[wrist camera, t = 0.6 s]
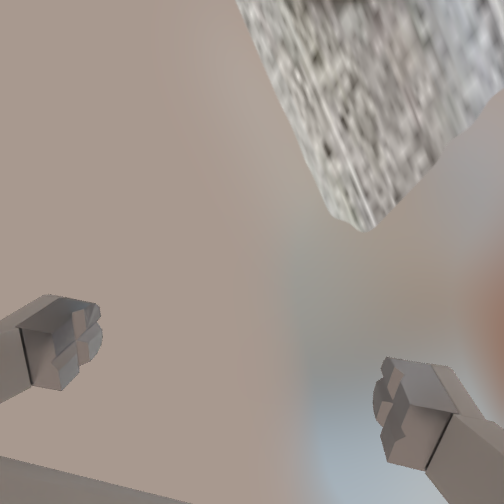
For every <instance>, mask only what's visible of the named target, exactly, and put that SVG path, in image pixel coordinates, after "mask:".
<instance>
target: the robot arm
mask: <svg viewBox="0 0 504 504" xmlns="http://www.w3.org/2000/svg"><path fill="white" fill-rule="evenodd" d="M100 317H101V314H100V307H99V306H98V305H97V304H96V303H91V302H86V301H82V300H77V299H71V298H67V297H62V296H56V295H51V294H50V295H49V294H48V295H42V296H41V297H39V298H37V299H36V300H34V301H32V302H31V303H29V304H27V305H25V306H24V307H22V308H21V309H19V310H17V311H15V312H14V313H12V314H10V315H9V316H7V317H5V318H4V319H2V320H0V403H2V402H4V401H6V400H8V399H10V398H12V397H14V396H16V395H18V394H19V393H21V392H23V391H25V390H27V389H29V388H30V387H31V386H37V387H42V388H48V389H53V390H58V391H62V390H63V389H64V388H65V387H66V386H67V385H68V384H69V383H70V382H71V381H72V380H73V379H74V378H75V377H76V376H77V375H78V373H79V366H81V365H83V364H85V363H87V362H90V361H91V360H92V359H93V358H94V356H95V355H96V354H97V352H98V350H99V348H100V346H101V343H102V338H103V335H102V329H101V328H100V326H99V324H98V323H97V321H98V320H99V318H100ZM381 371H382V374H383V378H381V379H380V380H378V381H377V382H376V386H375V389H374V393H373V409H374V414H375V418H376V420H377V421H378V423H379V424H380V425H381V426H382V427H383V429H382V432H381V435H380V437H381V440H382V444H383V448H384V452H385V455H386V459H387V462H389V463H393V464H397V465H401V466H405V467H409V468H413V469H417V470H421V471H425V472H426V473H425V474H426V475H427V476H428V478H429V479H430V480H431V481H432V483H433V484H434V485H435V487H436V488H437V489H438V490H439V492H440V493H441V494H442V495H443V497H444V498H445V499H446V500H447V502H448V503H449V504H504V429H503V428H501V427H500V426H499V425H497V424H496V423H495V422H492V421H488V420H486V419H485V418H484V416H483V415H482V413H481V412H480V410H479V409H478V407H477V406H476V404H475V403H474V401H473V400H472V398H471V397H470V395H469V394H468V392H467V391H466V389H465V388H464V386H463V385H462V383H461V382H460V380H459V379H458V377H457V376H456V374H455V373H454V371H453V370H452V369H451V368H449V367H448V366H442V365H436V364H429V363H426V364H425V363H420V362H413V361H408V360H403V359H396V358H391V357H386V358H385V360H384V361H383V364H382V367H381ZM0 504H191V503H187V502H183V501H179V500H175V499H171V498H167V497H163V496H159V495H155V494H151V493H147V492H142V491H139V490H134V489H131V488H127V487H123V486H118V485H115V484H111V483H107V482H103V481H99V480H95V479H91V478H87V477H83V476H79V475H75V474H70V473H67V472H63V471H59V470H55V469H51V468H47V467H43V466H39V465H35V464H30V463H27V462H22V461H19V460H15V459H11V458H7V457H2V456H0Z"/></svg>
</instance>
